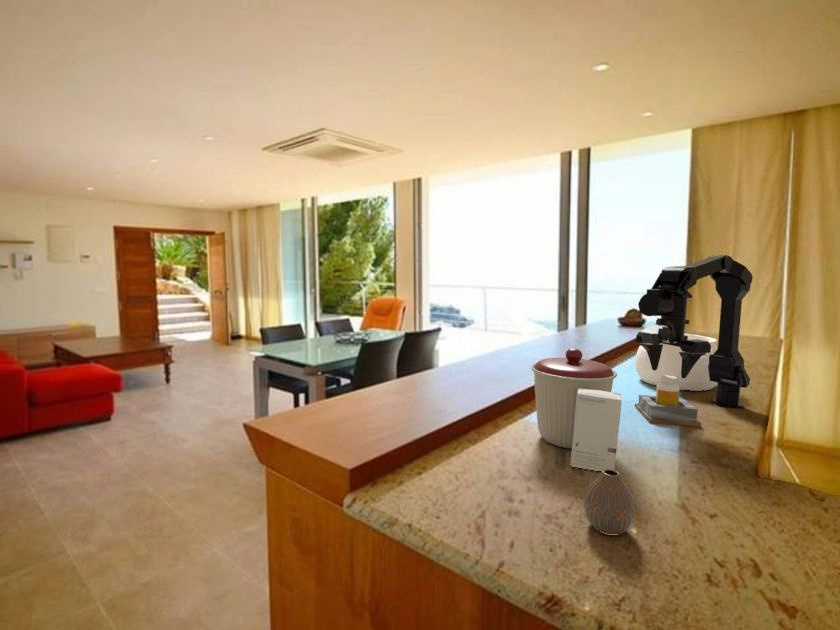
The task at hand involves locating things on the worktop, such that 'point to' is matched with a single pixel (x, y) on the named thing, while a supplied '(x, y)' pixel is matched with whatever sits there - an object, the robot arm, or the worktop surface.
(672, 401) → the supplement bottle
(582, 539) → the worktop surface
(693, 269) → the robot arm
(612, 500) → the vase
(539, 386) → the canister
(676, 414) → the socket board
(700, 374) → the pot
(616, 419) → the skincare box
